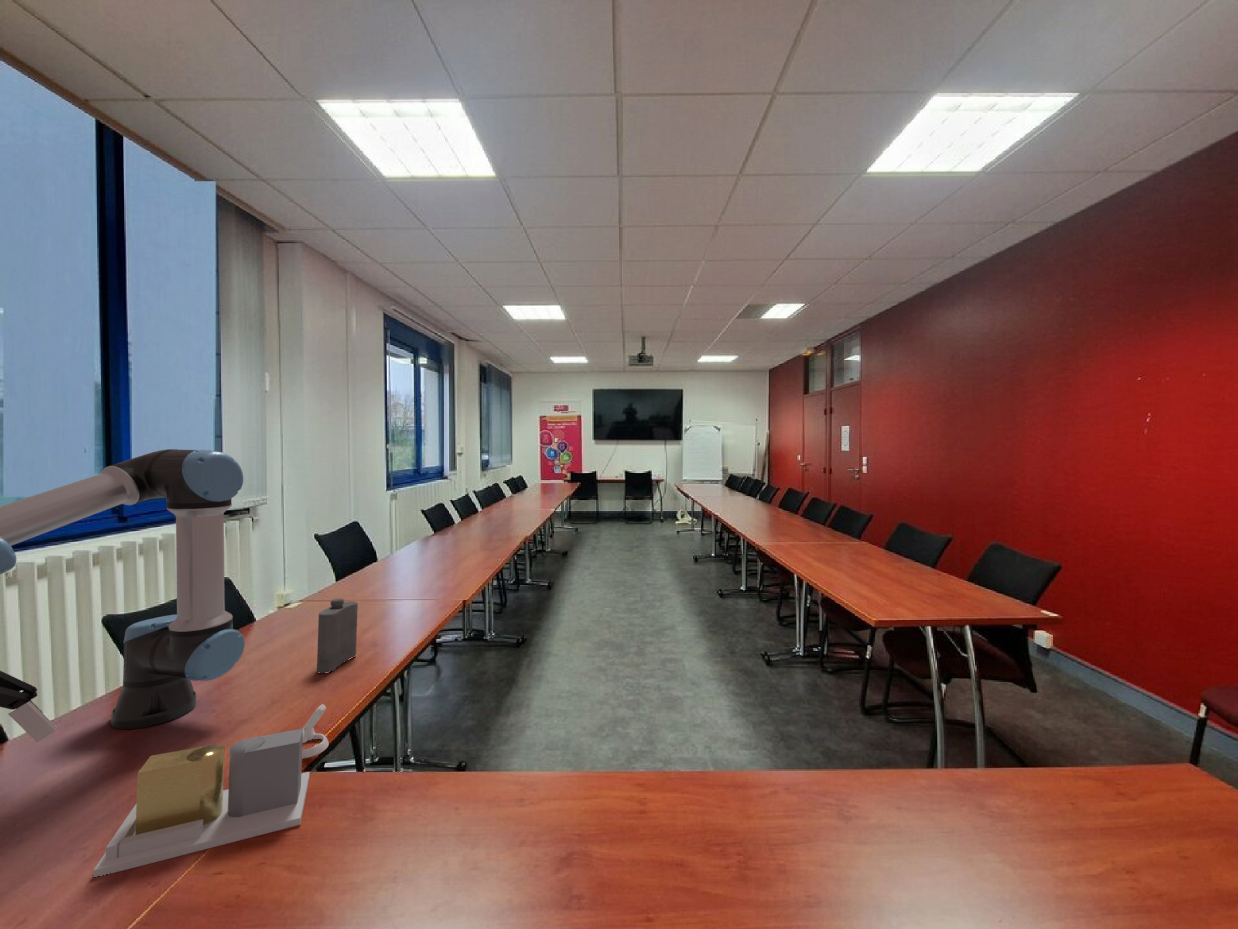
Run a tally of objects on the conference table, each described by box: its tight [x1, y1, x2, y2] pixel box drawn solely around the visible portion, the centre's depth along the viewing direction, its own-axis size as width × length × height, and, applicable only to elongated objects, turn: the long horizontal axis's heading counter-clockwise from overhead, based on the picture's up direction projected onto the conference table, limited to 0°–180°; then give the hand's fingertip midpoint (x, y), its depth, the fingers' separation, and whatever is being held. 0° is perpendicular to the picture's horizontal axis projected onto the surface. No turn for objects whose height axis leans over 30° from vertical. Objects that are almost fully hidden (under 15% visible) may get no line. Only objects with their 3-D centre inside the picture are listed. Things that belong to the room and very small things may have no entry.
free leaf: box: [135, 744, 225, 835], centre depth 83 cm, size 10×5×11 cm, turn 116°
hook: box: [301, 703, 330, 760], centre depth 106 cm, size 8×12×7 cm
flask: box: [316, 597, 359, 673], centre depth 151 cm, size 15×6×20 cm, turn 177°
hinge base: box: [93, 728, 311, 878], centre depth 85 cm, size 26×14×12 cm, turn 117°
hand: (16, 759), depth 77 cm, fingers open, 13 cm apart
